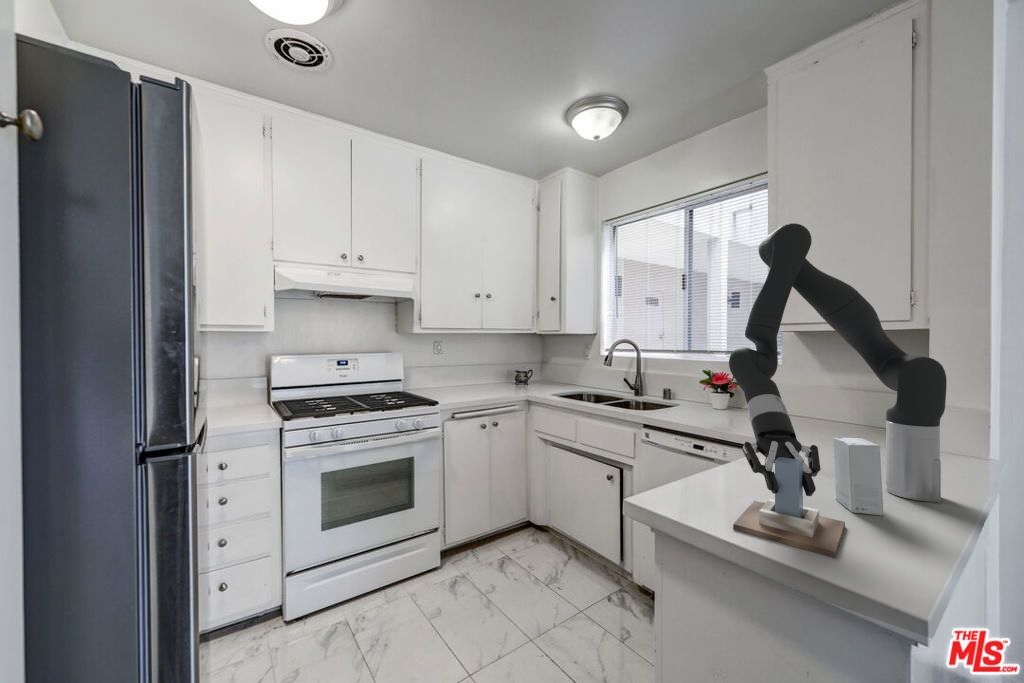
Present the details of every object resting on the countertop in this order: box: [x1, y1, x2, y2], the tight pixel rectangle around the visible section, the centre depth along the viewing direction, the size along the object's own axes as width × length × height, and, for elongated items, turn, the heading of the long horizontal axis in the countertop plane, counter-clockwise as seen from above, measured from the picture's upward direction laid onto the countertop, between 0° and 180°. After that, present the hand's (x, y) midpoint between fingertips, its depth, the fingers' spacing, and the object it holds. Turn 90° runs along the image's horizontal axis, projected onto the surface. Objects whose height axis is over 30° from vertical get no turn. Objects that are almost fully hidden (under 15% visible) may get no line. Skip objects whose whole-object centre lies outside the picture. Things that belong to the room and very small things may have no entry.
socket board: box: [732, 498, 846, 558], centre depth 82 cm, size 16×16×4 cm
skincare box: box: [833, 437, 885, 517], centre depth 92 cm, size 8×6×15 cm
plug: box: [774, 457, 804, 518], centre depth 82 cm, size 4×4×11 cm
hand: (792, 492), depth 80 cm, fingers closed on plug, 5 cm apart
